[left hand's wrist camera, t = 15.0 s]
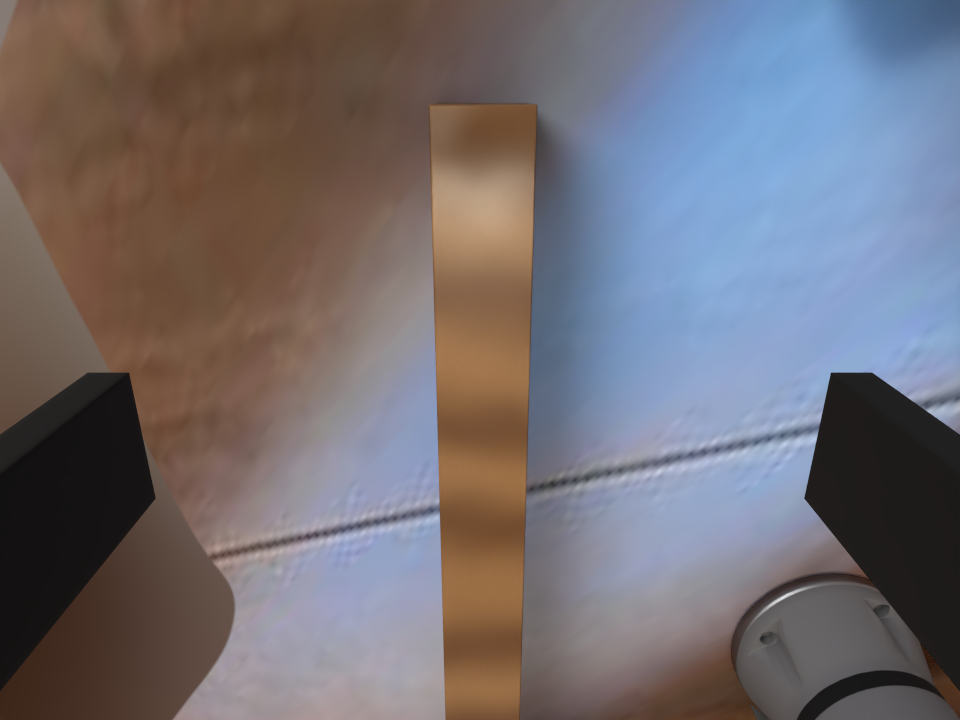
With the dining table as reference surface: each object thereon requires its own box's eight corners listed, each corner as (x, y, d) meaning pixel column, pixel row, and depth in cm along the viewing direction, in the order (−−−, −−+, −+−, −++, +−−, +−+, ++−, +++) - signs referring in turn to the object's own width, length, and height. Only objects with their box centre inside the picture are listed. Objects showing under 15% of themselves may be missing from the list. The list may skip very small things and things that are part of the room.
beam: (437, 103, 43) (428, 104, 36) (527, 103, 43) (537, 104, 36) (454, 858, 71) (451, 943, 63) (509, 858, 71) (513, 943, 63)
